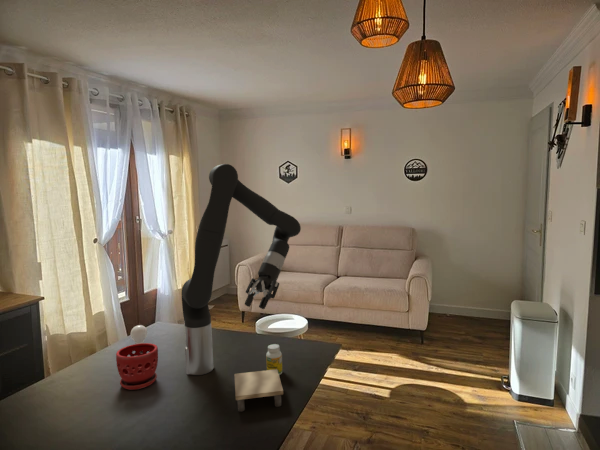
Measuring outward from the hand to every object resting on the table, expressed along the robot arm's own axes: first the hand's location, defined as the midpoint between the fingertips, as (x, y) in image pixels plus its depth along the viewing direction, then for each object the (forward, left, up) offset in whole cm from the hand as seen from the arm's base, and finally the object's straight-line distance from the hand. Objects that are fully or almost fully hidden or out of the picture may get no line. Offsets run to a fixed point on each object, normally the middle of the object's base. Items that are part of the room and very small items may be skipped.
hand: (254, 307), depth 141 cm
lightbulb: (-45, +27, -23) cm, 57 cm away
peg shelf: (-1, -19, -23) cm, 30 cm away
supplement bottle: (+6, -4, -23) cm, 25 cm away
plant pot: (-40, 0, -23) cm, 46 cm away
